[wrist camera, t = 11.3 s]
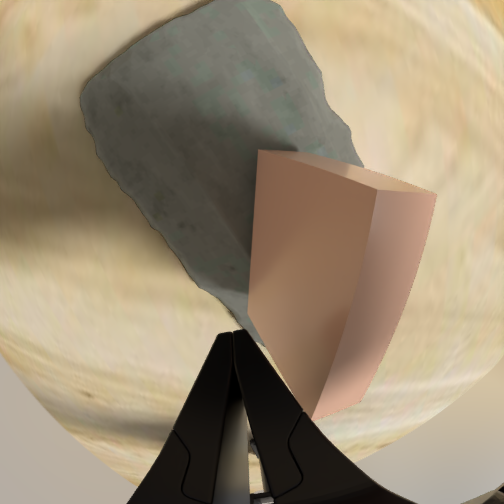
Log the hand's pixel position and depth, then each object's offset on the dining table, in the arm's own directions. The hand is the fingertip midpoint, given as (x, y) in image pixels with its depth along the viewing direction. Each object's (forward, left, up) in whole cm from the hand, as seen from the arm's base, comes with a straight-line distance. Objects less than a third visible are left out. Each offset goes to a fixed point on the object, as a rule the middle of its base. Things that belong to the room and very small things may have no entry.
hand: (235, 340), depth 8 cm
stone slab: (-1, -3, -7) cm, 8 cm away
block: (+1, -2, -4) cm, 5 cm away
